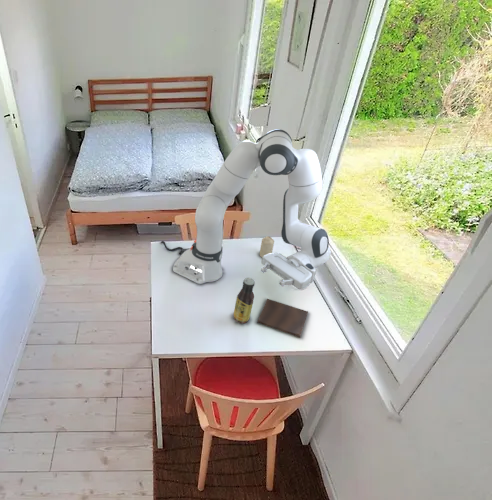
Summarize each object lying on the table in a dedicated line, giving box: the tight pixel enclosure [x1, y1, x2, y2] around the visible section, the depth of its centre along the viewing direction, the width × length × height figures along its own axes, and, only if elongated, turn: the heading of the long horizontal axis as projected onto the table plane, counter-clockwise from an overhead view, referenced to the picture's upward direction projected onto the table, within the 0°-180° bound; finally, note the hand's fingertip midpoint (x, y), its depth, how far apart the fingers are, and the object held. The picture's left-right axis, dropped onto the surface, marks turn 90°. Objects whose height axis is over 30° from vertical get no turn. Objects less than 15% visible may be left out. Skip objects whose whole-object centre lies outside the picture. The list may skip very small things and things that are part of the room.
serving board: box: [256, 298, 309, 338], centre depth 149 cm, size 16×14×1 cm
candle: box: [259, 235, 275, 258], centre depth 180 cm, size 6×6×10 cm
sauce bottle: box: [233, 277, 256, 325], centre depth 144 cm, size 7×6×20 cm
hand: (271, 277), depth 145 cm, fingers open, 8 cm apart
